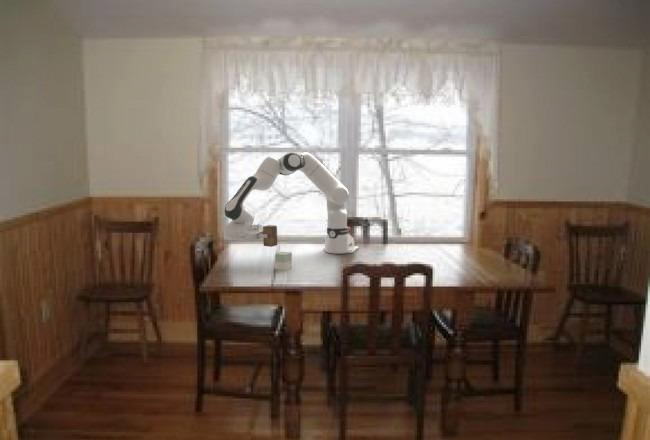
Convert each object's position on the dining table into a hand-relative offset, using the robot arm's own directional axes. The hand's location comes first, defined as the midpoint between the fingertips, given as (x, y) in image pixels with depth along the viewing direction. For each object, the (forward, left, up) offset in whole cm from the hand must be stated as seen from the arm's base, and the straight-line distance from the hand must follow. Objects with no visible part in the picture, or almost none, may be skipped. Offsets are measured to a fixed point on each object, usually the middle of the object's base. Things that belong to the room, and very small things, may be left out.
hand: (271, 234), depth 277 cm
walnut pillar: (0, -1, -6) cm, 6 cm away
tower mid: (0, +7, -13) cm, 15 cm away
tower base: (0, +7, -17) cm, 18 cm away
